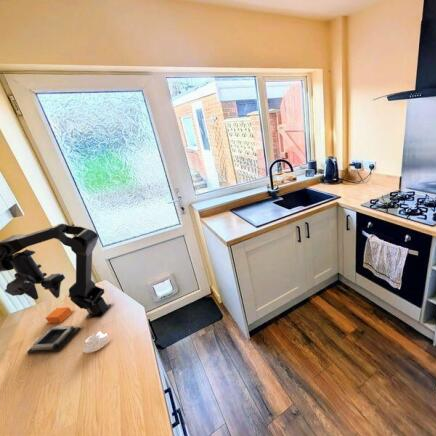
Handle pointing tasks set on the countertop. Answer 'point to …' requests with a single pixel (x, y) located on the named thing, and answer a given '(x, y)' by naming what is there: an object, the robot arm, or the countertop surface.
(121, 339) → the countertop surface
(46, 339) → the mount plate
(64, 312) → the orange block
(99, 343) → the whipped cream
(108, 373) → the countertop surface
